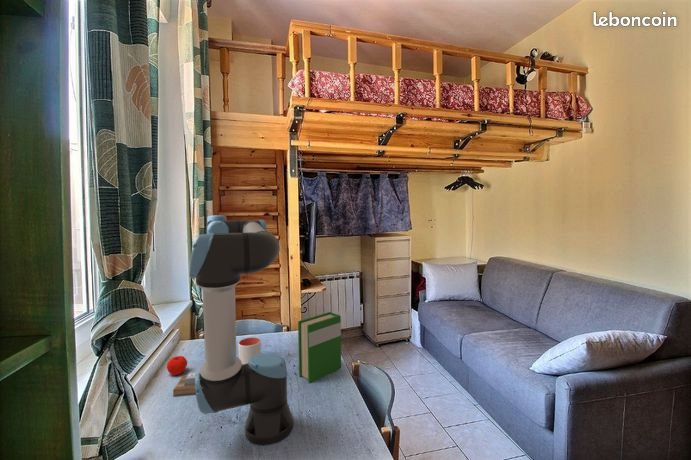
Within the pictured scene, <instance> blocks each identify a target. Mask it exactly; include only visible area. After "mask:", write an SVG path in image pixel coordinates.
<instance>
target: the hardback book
mask: <svg viewBox="0 0 691 460" xmlns="http://www.w3.org/2000/svg"><path fill="white" fill-rule="evenodd" d="M341 318H342V317H341V315H340V314H337V313H333V312H331V311H329V312H325V313H322V314H318V315H315V316H311V317H308V318H305V319H301V320H298V321H297V332H298V333H297V335H298V336H297V337H298V340H297V341H298V376H299V378H302V377H303V378H305V379H307V382H308V384H312V383H313V382H315V381H317V380H319V379H322V378H324V377H326V376H328V375H330V374H333V373H334V371H335V372H336V370H337V371H338V369H339V370H340V368H341V369H342V328H341V327H342V323H341V322H342V319H341Z"/></svg>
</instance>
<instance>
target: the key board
mask: <svg viewBox="0 0 691 460" xmlns="http://www.w3.org/2000/svg"><path fill="white" fill-rule="evenodd" d="M187 376H188V374H187V375H182V377H181V378H180V380H179V381H178V382H177V385H175V387H174V388H173V390H172V394H173V397H181V396H182V397H183V396H193V395H195V396H196V389H195V385H188V386H186V381H185V379H186V377H187Z"/></svg>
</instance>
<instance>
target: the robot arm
mask: <svg viewBox="0 0 691 460" xmlns="http://www.w3.org/2000/svg"><path fill="white" fill-rule="evenodd" d="M206 218H207V219H206V220H207V221H206V226H207V227H206V233H203V234H198V235H196V236H195V237H194V238H193V241H192V246H191V253H190V255H191V256H190V263H189V278H191V279H195V284H196V286H197V287H198V288H200V289H202V309H203V310H202V313H203V336H204V337H203V338H204V360H205V361H204V363H203V364H202V365H201V367H200V369H199V371H198V372H199V373H197V374H196V376H195V389H196V394H195V398H196V404H197V407H198V410H199V412H200V413H202V414H204V415H207V414H214V413H215V414H216V413H217V414H218V413H219V412H222V411H225V410H229V409H231V410H232V409H234V408H239V407H243V406H247V405H249V411H248V415H247V417H246V420H245V422H244V423H245V424H244V435H245V438H246V440H247V441H249V443H251V444H254V445H256V446H257V445H258V446H268V445H273V444H276V443H279V442H281V441H282V440H284V439H285V438H287V437H288V436H289V435H290V434H291V433H292V431H293V429H294V416H293V413H292V412H291V409H290V406H289V403H288V384H287V383H288V378H287V376H288V369H287V362H286V360H285V358H284V357H282V356H281V355H278V354H275V353H270V352H269V353H268V352H267V353H262V352H261V354H257V355H255V356H252V357H251V358H250V359H249V361H248V364H242V362H241V360H240V359H239V356H237V325H236V324H237V323H236V321H237V317H236V312H237V311H236V285H238V284H239V283H240V282H241V280H242V279H241V275H243V274H253V273H258V272H260V271H263V270H265V269H266V268H268V267H270V265H272V264H273V263H274V262H275V261H276V260H277V258H278V256H279V253H280V247H281V245H280V243H279V242H280V241H279V240H278V238H277V237H276V236H275V235H274V234H273V233H272V232H270V231H267V222H266V221H265V220H264V219H244V220H236V219H233V220H227V216H226V215H220V214H219V215H218V214H215V215H213V214H212V215H208V216H207V217H206Z"/></svg>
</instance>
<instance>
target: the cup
mask: <svg viewBox="0 0 691 460" xmlns="http://www.w3.org/2000/svg"><path fill="white" fill-rule="evenodd" d="M261 344H262V341H261V338H259V337H246V338H243V339H241V340H239V341H238V347H237V348H238V350H237V351H238V358H239V359H240V360H241V362H242V364H248V361H249V359H250V358H251V357H252V356H255V355H257V354H262V345H261Z"/></svg>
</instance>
